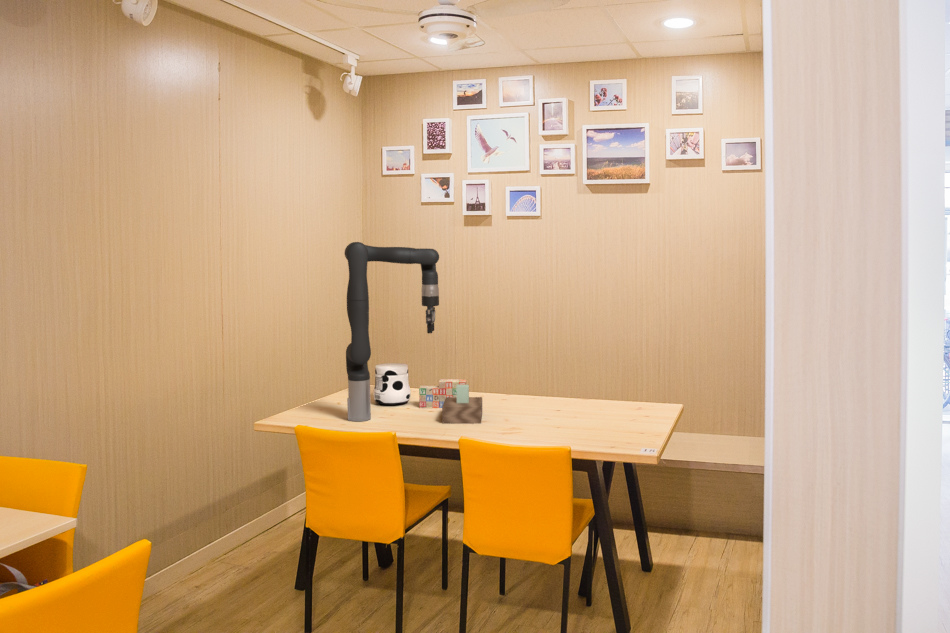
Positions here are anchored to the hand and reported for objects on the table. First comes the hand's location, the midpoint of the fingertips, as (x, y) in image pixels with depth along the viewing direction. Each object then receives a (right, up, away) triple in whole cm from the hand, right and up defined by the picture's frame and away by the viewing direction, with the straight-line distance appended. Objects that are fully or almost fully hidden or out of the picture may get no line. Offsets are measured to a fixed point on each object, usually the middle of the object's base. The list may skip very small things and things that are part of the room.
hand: (430, 332), depth 328 cm
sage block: (+14, -30, -6) cm, 33 cm away
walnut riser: (+14, -37, -5) cm, 40 cm away
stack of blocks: (+5, -35, +19) cm, 40 cm away
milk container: (-20, -34, +27) cm, 48 cm away
